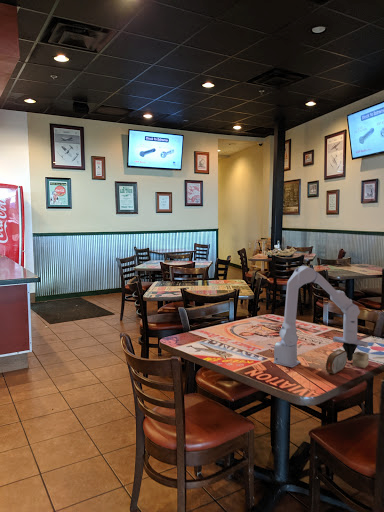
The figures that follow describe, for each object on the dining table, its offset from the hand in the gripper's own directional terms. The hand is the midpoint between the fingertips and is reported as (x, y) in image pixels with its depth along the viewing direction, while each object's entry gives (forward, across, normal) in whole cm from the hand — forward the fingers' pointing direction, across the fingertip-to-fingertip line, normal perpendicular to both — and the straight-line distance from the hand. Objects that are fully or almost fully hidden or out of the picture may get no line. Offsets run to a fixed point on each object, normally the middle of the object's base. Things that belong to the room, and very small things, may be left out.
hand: (349, 360), depth 171 cm
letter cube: (+1, -4, 0) cm, 5 cm away
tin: (+2, +1, +13) cm, 13 cm away
